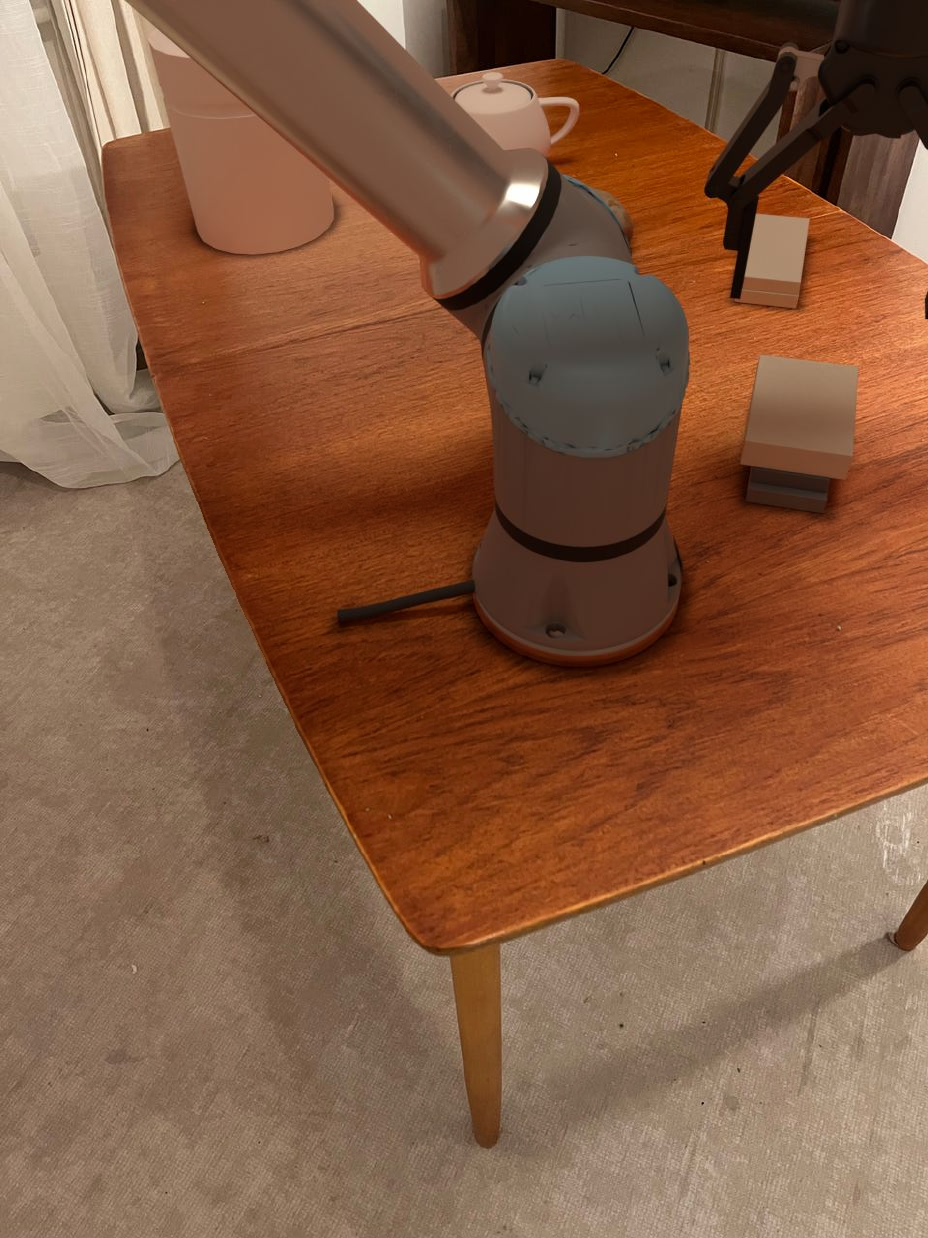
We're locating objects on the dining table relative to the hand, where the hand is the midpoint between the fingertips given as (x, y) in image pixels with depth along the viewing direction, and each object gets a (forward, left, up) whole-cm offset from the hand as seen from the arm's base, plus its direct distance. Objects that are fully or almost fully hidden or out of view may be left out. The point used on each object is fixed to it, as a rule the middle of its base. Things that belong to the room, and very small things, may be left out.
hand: (831, 299), depth 72 cm
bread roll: (+4, +38, -14) cm, 41 cm away
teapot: (+5, +61, -14) cm, 63 cm away
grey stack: (0, 0, -14) cm, 14 cm away
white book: (0, 0, -11) cm, 11 cm away
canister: (-23, +64, -14) cm, 70 cm away
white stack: (+18, +24, -14) cm, 33 cm away
